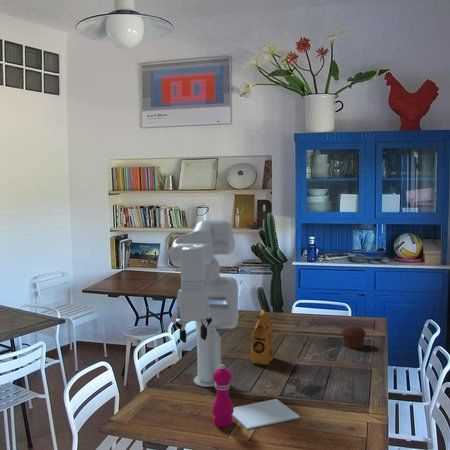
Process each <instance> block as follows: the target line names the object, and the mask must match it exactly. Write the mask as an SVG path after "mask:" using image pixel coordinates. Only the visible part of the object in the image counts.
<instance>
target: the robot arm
mask: <svg viewBox="0 0 450 450" xmlns="http://www.w3.org/2000/svg"><path fill="white" fill-rule="evenodd" d="M235 245H236V244H235V237H234V232H233V227H232V225H231V224H230V222H229V221H228V220H222V219H220V220H219V219H218V220H217V219H216V220H214V219H213V220H210V219H209V220H200V221H199V222H197V223H196V224H195V225H194V227H193V229H192V231H191V232H189V233H186V234H184V235H183V234H182V235H181V236H178V237H176V238H175V239H174V241H173V242H172V245H171V246H170V250H169V259H170V263H171V264H172V265H174V266H176V267H180V289H178V291H177V295H176V304H175V305H176V306H175V312H174V313H173V314H172V316H171V317H170V318H169V321H170V322H171V323H172V324H173V325H175V327H176V328H178V329H179V339H180V341H181V342H183V343H184V344H186V343H187V330H186V326H187V324H188V322H189V323H190V322H195V323H194V324H195V329H196V344H197V345H196V352H197V353H196V354H197V358H196V359H197V361H196V362H197V375H196V376H195V377H194V378H193V383H194V384H195V385H196V386H199V387H205V388H212V387H213V388H215V383H216V382H215V381H214V378H213V375H214V372H215V371H216V370H217V369H220V365H221V364H222V347H221V346H222V342H221V341H222V340H221V337H220V334H219V332H218V331H217V330H216V329H234V328H236V327H237V326H238V323H239V287H238V282H237V279H236V278H234V277H232V276H231V277H230V276H221V275H220V274H221V273H220V268H221V267H220V263H219V261H218V259H217V258H216V257H215V256H214V255H216V256H217V255H231V254H233V252H234V250H235ZM209 301H212V302H213V301H216V302H217V301H219V302H220V301H221V302H223V301H224V302H226V304H224V303H223V304H222V303H221V304H220V303H219V304H217V303H210V302H209ZM177 319H178V320H179V322H178V321H177Z"/></svg>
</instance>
